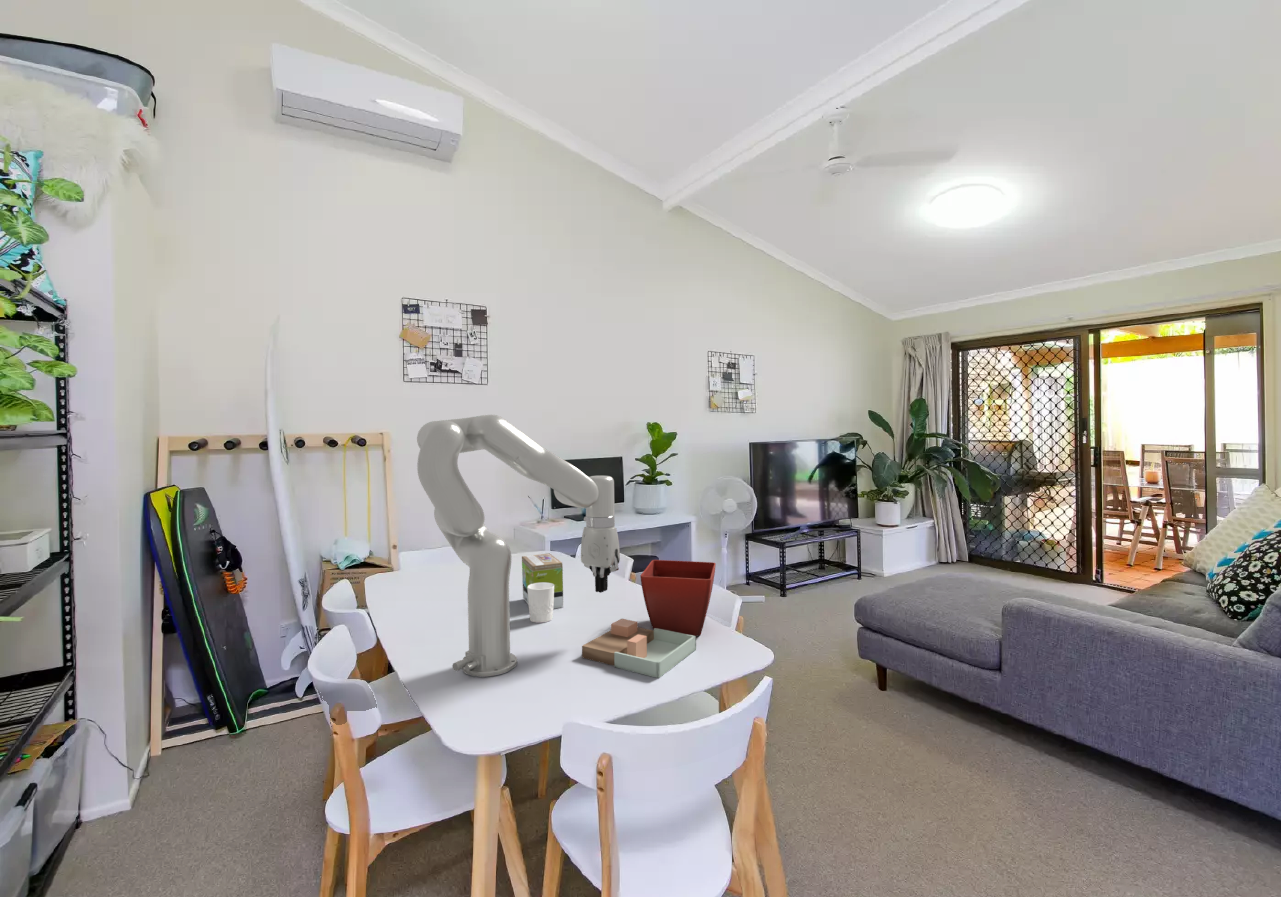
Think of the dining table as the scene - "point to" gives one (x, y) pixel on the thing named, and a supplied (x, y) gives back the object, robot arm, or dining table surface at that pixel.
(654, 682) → the dining table surface
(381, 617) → the dining table surface
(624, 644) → the board
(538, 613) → the white cup
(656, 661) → the tray
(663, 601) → the plant pot
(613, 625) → the tile
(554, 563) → the tea box
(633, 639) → the tile
